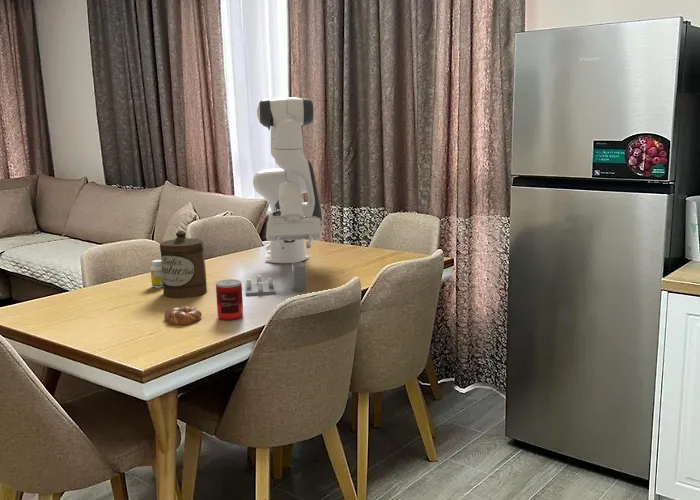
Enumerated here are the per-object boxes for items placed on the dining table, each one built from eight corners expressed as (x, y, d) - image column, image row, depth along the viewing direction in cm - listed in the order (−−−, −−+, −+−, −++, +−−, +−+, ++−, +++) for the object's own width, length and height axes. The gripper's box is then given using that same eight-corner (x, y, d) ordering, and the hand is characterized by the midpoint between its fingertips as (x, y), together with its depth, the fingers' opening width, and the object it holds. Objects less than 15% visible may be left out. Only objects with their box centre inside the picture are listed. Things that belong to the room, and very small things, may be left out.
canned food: (233, 312, 213) (231, 278, 211) (248, 317, 207) (246, 282, 205) (212, 317, 208) (210, 282, 206) (227, 322, 202) (225, 286, 200)
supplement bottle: (165, 288, 246) (163, 262, 244) (150, 288, 246) (148, 262, 244) (168, 284, 251) (166, 259, 249) (154, 285, 251) (152, 259, 249)
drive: (292, 287, 243) (291, 263, 241) (304, 287, 243) (303, 262, 241) (294, 292, 236) (293, 267, 234) (306, 291, 236) (305, 266, 235)
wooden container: (154, 296, 235) (149, 233, 230) (179, 286, 248) (175, 226, 244) (191, 299, 230) (187, 235, 225) (215, 289, 243) (211, 228, 239)
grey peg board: (245, 286, 245) (244, 276, 244) (273, 285, 247) (272, 274, 246) (246, 295, 233) (245, 284, 232) (275, 294, 234) (275, 282, 233)
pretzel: (203, 324, 202) (202, 312, 201) (165, 328, 199) (164, 316, 198) (200, 313, 213) (199, 302, 212) (164, 317, 210) (163, 305, 210)
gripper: (319, 221, 257) (323, 251, 249) (265, 223, 254) (267, 254, 246) (320, 211, 252) (324, 241, 244) (265, 213, 248) (267, 244, 241)
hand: (295, 247), depth 245 cm, fingers open, 8 cm apart
